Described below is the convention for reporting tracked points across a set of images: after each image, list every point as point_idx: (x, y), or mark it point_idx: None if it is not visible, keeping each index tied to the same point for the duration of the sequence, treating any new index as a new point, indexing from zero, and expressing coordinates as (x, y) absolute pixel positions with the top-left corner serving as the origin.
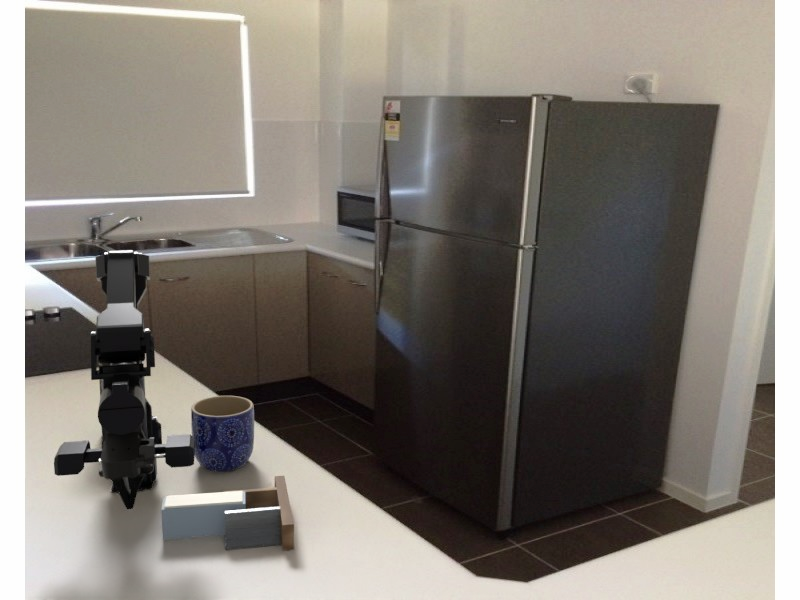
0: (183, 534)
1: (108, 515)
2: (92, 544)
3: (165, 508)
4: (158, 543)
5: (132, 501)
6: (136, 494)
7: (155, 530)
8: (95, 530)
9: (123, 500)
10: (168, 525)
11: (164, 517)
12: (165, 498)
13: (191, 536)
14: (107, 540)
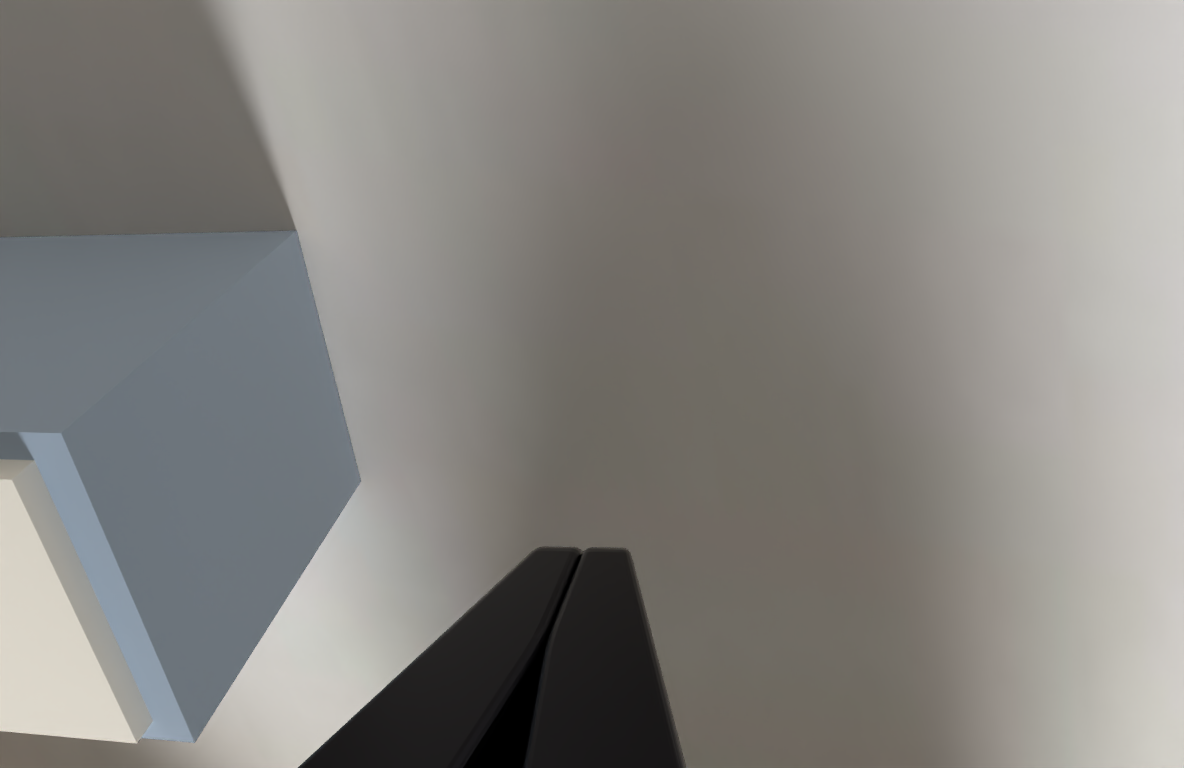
0: (67, 250)
1: (959, 738)
2: (1113, 223)
3: (19, 458)
4: (313, 152)
5: (483, 629)
6: (337, 731)
7: (431, 417)
8: (1083, 514)
9: (640, 661)
10: (140, 307)
11: (110, 364)
12: (160, 706)
13: (13, 238)
14: (925, 292)
